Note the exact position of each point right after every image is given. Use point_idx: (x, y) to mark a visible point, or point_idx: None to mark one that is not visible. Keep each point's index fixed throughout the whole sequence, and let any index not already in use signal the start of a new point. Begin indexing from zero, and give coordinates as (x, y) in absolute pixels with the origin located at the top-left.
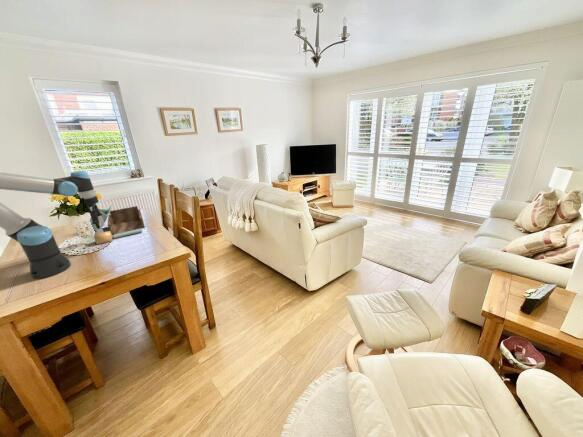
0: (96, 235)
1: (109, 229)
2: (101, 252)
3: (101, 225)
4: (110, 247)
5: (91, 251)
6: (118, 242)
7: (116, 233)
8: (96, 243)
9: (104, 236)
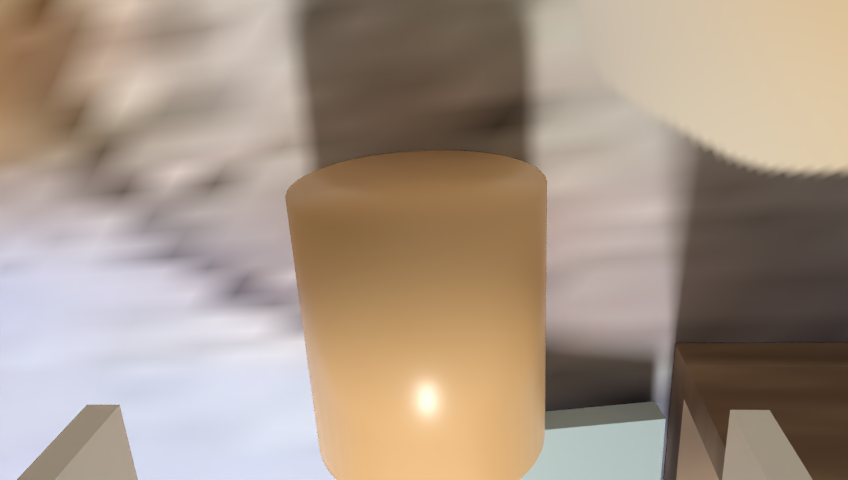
0: (342, 272)
1: (723, 452)
2: (18, 236)
3: (730, 465)
4: (160, 342)
5: (133, 81)
6: (309, 435)
7: (686, 446)
8: (310, 173)
9: (314, 377)
